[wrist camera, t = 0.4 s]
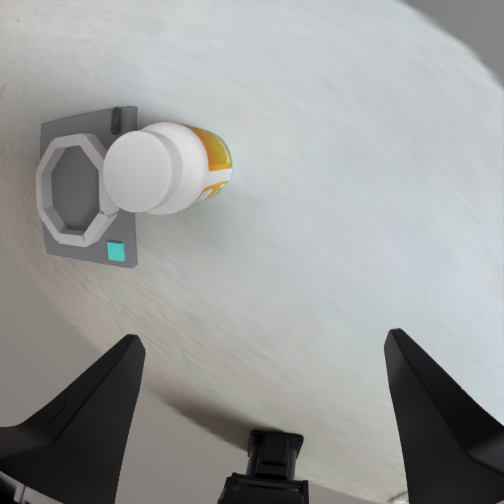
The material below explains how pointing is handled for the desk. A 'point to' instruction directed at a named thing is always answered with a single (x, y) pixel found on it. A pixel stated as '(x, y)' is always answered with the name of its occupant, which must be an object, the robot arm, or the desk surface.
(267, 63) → the desk surface
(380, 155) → the desk surface
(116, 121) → the charging dock
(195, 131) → the supplement bottle
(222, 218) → the desk surface
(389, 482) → the desk surface
